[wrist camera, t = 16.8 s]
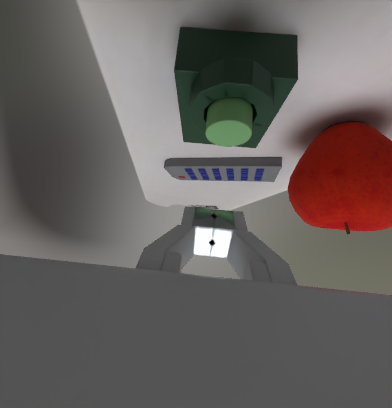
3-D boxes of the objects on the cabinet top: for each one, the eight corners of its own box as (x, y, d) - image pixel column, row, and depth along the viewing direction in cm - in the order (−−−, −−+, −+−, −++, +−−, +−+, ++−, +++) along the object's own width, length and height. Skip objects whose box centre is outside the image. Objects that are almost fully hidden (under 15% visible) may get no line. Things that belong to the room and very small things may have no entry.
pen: (218, 206, 80) (218, 209, 80) (188, 205, 84) (187, 208, 84) (218, 206, 79) (218, 209, 79) (187, 205, 84) (187, 208, 83)
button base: (178, 7, 13) (167, 78, 12) (307, 15, 13) (309, 88, 12) (187, 113, 24) (181, 156, 23) (256, 119, 24) (255, 163, 23)
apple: (277, 151, 31) (277, 232, 29) (314, 97, 20) (319, 224, 17) (355, 154, 30) (362, 240, 27) (442, 99, 19) (469, 236, 16)
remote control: (274, 173, 41) (274, 183, 40) (174, 173, 46) (173, 181, 45) (281, 156, 33) (282, 168, 33) (162, 158, 38) (160, 168, 38)
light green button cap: (208, 93, 14) (206, 118, 13) (259, 97, 13) (258, 123, 13) (206, 124, 17) (204, 145, 17) (246, 127, 17) (245, 148, 17)
